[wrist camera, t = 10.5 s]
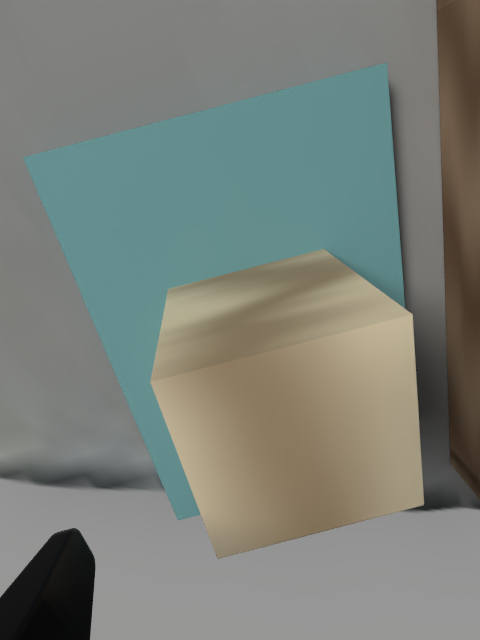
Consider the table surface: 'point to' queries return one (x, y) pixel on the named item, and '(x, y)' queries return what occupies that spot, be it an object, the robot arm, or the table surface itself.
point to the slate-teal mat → (220, 215)
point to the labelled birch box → (290, 400)
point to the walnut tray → (461, 225)
